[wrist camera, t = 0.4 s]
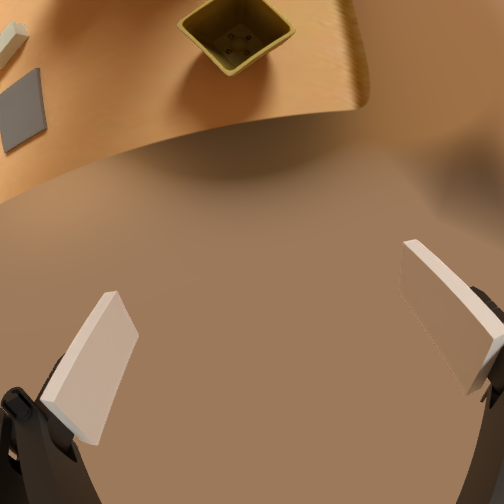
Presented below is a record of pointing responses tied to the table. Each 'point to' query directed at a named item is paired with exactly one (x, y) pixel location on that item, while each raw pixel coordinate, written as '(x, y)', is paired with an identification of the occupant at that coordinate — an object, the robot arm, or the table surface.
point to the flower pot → (236, 31)
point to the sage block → (11, 41)
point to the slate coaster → (22, 111)
